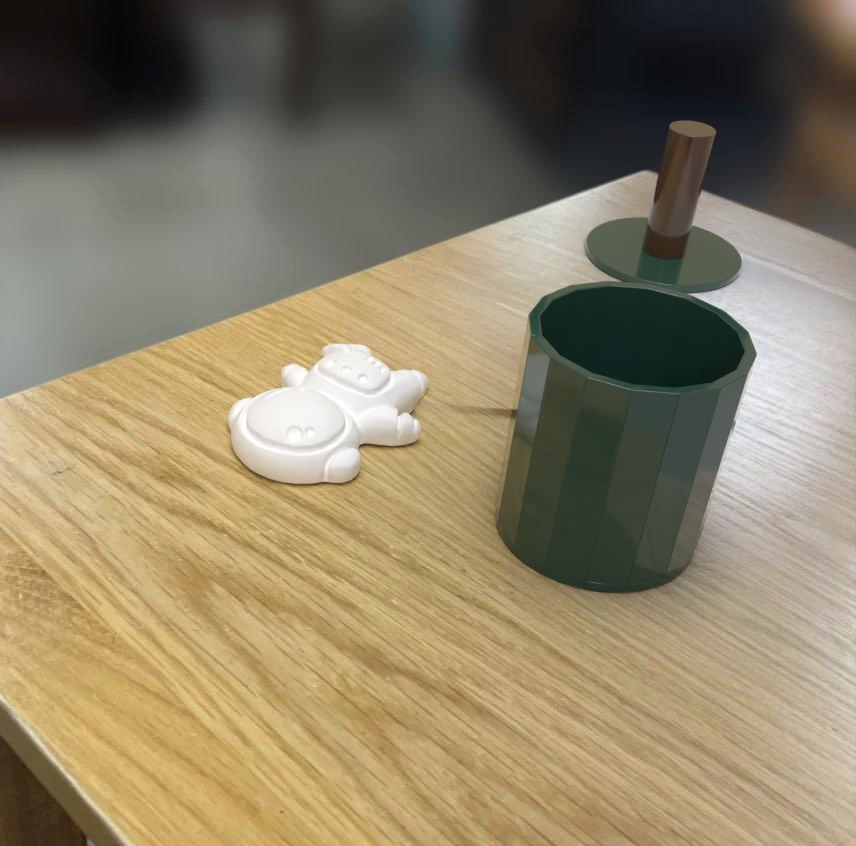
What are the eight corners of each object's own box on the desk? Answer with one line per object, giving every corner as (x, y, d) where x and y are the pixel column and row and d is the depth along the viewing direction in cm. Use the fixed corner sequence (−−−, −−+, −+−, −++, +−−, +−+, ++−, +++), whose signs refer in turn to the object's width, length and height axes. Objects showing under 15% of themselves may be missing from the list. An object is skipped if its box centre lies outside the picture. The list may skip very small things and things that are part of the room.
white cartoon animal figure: (465, 416, 65) (472, 367, 63) (306, 508, 58) (309, 456, 57) (347, 353, 70) (350, 305, 68) (186, 431, 63) (185, 380, 61)
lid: (723, 238, 84) (759, 106, 79) (751, 307, 77) (793, 166, 71) (577, 226, 85) (602, 94, 79) (590, 294, 77) (619, 153, 71)
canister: (679, 478, 62) (732, 290, 55) (710, 601, 55) (776, 401, 48) (492, 462, 62) (524, 273, 56) (498, 583, 55) (535, 382, 48)
